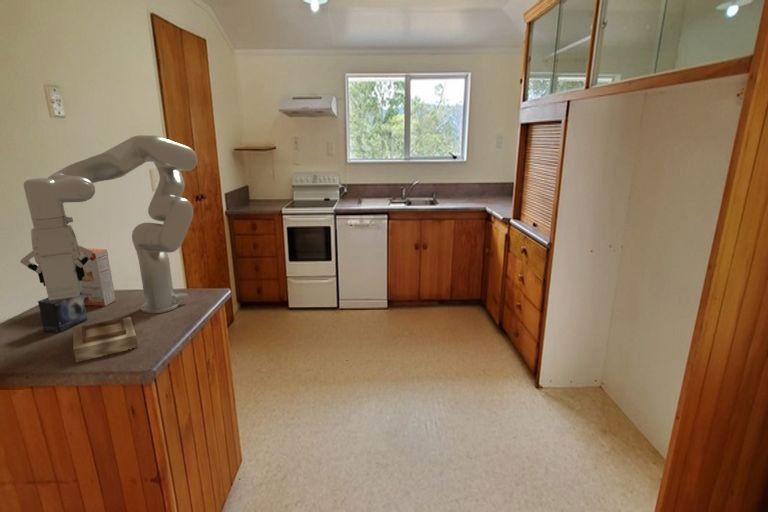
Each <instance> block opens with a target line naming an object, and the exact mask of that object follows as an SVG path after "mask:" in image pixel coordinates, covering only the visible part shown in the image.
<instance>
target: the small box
mask: <svg viewBox="0 0 768 512" xmlns="http://www.w3.org/2000/svg"><path fill="white" fill-rule="evenodd" d="M37 303H38V308H39V313H40V316H41V318H40V319H41V322H42V327H43V331H44V332H48V333H55V334H59V333H62V332H64V331H67V330H68V329H71V328H74V327H76V326H78V325H80V324H82V323H85V322H87V321H88V317H87V311H86V310H87V309H86V305H84V299H83V293H82V292H80V294H79V296H76V297H70V298H62V299H55V300H49V298H48V297H46V298H43V299H41V300H40V299H39V300H38V301H37ZM86 320H87V321H86Z"/></svg>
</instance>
